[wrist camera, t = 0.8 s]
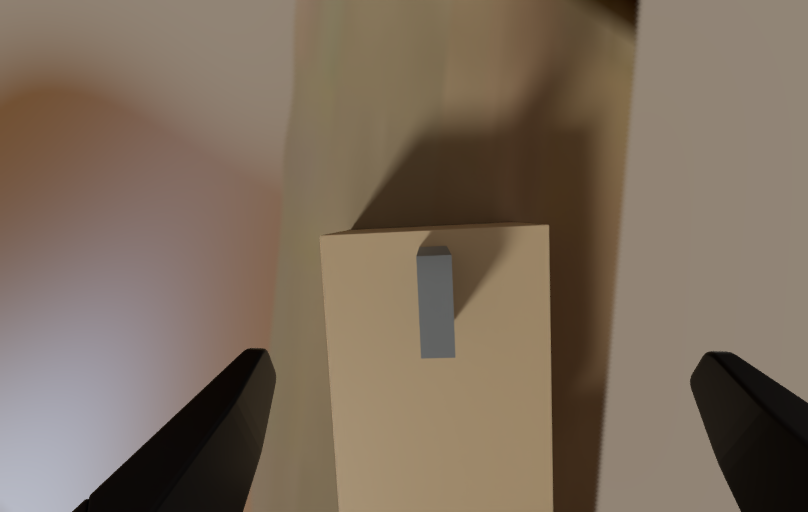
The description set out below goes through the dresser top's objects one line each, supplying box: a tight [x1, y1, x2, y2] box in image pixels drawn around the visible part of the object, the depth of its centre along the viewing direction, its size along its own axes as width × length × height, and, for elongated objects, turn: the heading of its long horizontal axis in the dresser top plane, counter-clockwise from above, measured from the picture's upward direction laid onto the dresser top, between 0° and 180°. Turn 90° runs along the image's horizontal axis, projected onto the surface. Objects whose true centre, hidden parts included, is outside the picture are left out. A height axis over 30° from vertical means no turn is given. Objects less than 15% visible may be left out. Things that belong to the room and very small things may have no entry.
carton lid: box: [320, 225, 553, 512], centre depth 17 cm, size 14×10×5 cm
